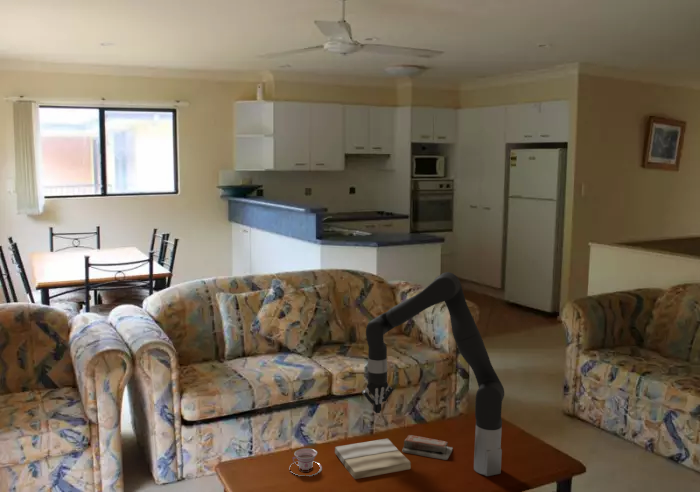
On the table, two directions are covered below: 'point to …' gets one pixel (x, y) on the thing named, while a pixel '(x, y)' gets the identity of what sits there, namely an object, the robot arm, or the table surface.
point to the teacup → (305, 460)
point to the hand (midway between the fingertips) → (377, 412)
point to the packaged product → (427, 447)
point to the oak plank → (377, 464)
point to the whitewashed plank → (364, 449)
